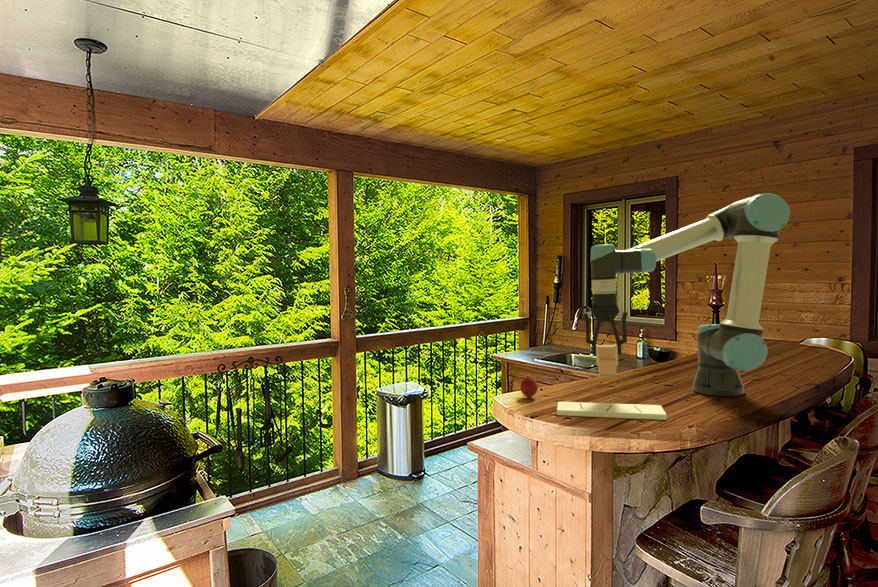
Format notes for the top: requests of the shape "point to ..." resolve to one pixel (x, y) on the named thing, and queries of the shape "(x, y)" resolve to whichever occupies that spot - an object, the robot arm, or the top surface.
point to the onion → (529, 387)
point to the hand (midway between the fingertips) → (607, 364)
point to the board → (611, 410)
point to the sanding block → (607, 360)
